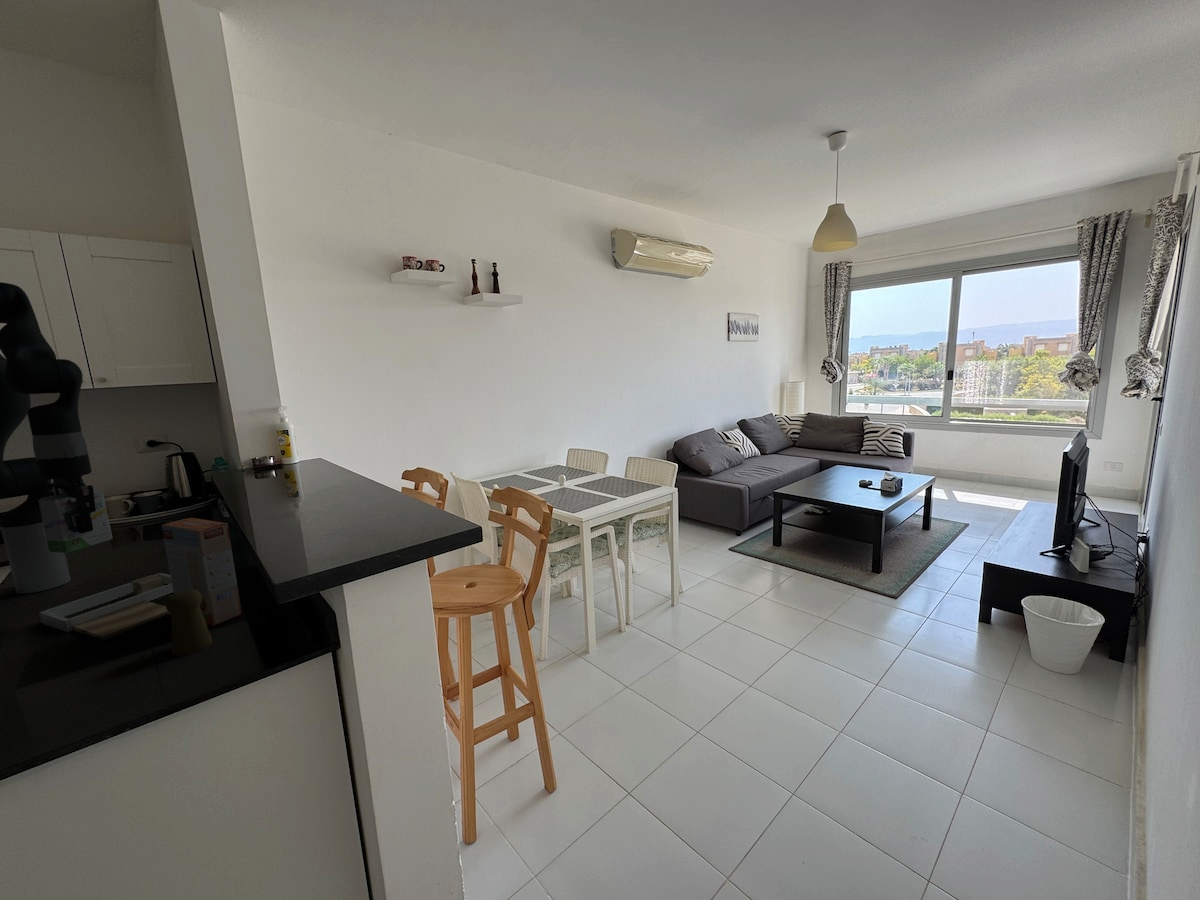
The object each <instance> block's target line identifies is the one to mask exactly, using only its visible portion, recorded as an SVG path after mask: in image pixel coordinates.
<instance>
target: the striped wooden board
mask: <svg viewBox="0 0 1200 900" xmlns="http://www.w3.org/2000/svg"><path fill="white" fill-rule="evenodd" d="M167 614H170V612H168V610H167V609H166V605H163V604H158V603H157V602H156V603H154V602H148V601H142V602H139V603H136V604H134V605H131V606H128V607H125V608H122V609H120V610H117V611H114V612H111V613H108V614H106V615H103V616H100V617H97V618H94V619H92V620H89V621H86V622H83V623H81V624H78V625H75V626H73V630H74V631H73V632H76V631H77V632H76V633H79V632H80V633H79V634H81V633H84V634H87V635H91V636H95V637H98V638H101V639H105V638H107V637H110V636H113V635H116V634H118V633H121V632H123V631H126V630H128V629H131V628H133V627H135V626H138V625H140V624H143V623H146V622H148V621H151V620H153V619H156V618H159V617H161V616H164V615H167ZM84 634H83V635H84ZM87 635H86V636H87Z"/></svg>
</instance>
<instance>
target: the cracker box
mask: <svg viewBox="0 0 1200 900" xmlns="http://www.w3.org/2000/svg"><path fill="white" fill-rule="evenodd" d="M160 526H161V532H162V537H163V542H164V548H165V553H166V559H167V563H168V564H167V565H168V570H169V575H170V576H171V581H172V587H173V592H174V594H175V593H178V592H181V591H185V590H197V591H198V592H200V594H201V596H202V602H201V604H200V609H201V611H202V614H203V616H204V619H205V622H206V624H207V626H211V627H216V626H217V625H220V624H222V623H224V622H226V621H229V620H231V619H234V618H237V617H239V616H241V615H243V614H242V613H243V612H242V607H241V601H240V596H239V595H240V594H239V590H238V589H239V588H238V584H237V583H238V582H237V577H236V570H235V564H234V558H233V551H232V545H231V539H230V533H229V526H228V523H227V522H221V521H214V520H209V519H201V518H196V517H189V518H182V519H179V520H175V521H171V522H167V523H163V524H161V525H160Z"/></svg>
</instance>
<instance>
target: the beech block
mask: <svg viewBox="0 0 1200 900" xmlns="http://www.w3.org/2000/svg"><path fill="white" fill-rule="evenodd" d="M155 575H156V574H150V575H148V576H144V577H142V578H138V579H135V580H132V581H131V582H132V586H133V591H134V593H133V596H136V595H139V594H142V593H145V592H148V591H150V590H153V589H156V588H159V587H162V586H164V584H163V583H162V577H159V576H155Z"/></svg>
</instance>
